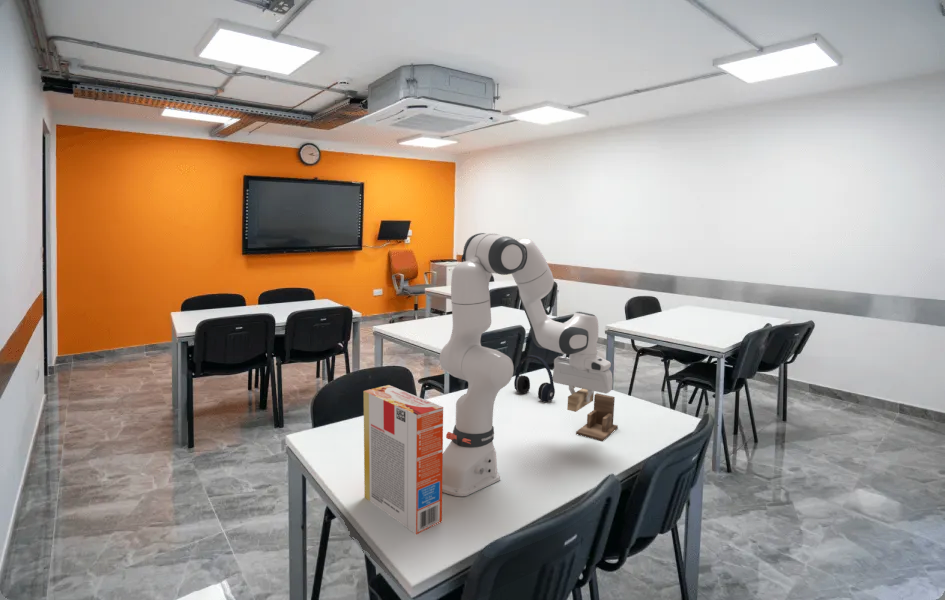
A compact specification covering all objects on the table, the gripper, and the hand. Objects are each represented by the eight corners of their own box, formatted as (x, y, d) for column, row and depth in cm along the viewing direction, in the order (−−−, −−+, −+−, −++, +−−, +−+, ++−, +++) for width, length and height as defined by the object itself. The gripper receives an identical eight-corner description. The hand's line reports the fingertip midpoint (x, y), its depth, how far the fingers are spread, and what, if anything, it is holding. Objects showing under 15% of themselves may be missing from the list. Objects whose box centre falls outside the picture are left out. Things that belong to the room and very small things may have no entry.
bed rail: (575, 411, 168) (576, 395, 167) (567, 409, 170) (568, 393, 169) (593, 400, 180) (594, 385, 179) (585, 398, 182) (586, 383, 181)
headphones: (511, 392, 232) (512, 353, 230) (521, 389, 237) (523, 350, 234) (546, 404, 217) (547, 362, 215) (556, 401, 222) (558, 359, 220)
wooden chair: (602, 441, 181) (604, 408, 180) (576, 434, 187) (577, 402, 185) (617, 428, 194) (619, 397, 192) (592, 421, 199) (593, 391, 197)
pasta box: (441, 521, 130) (443, 407, 126) (416, 534, 125) (416, 414, 121) (389, 487, 147) (389, 384, 143) (364, 497, 141) (363, 390, 137)
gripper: (550, 356, 176) (548, 396, 178) (608, 367, 164) (605, 409, 166) (558, 353, 181) (556, 391, 183) (615, 363, 169) (612, 404, 171)
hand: (580, 400), depth 174 cm, fingers closed on bed rail, 3 cm apart
